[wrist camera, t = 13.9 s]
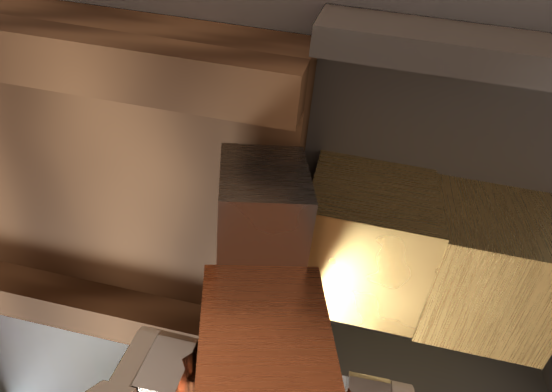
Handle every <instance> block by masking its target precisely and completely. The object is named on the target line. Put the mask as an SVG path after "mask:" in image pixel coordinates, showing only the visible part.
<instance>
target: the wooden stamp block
mask: <svg viewBox="0 0 552 392" xmlns="http://www.w3.org/2000/svg"><path fill="white" fill-rule="evenodd" d="M317 209H318V202H317V198H316V195H315V191H314V187H313V183H312V179H311V175H310V171H309V167H308V163H307V159H306V155H305V151H304V147H300V146H279V145H259V144H239V143H221V160H220V178H219V195H218V224H217V260H216V265H205V267H204V279H203V291H202V303H201V315H200V327H199V339H198V351H197V363H196V375H195V387H194V392H345V388H344V383H343V378H342V374H341V369H340V364H339V360H338V355H337V350H336V346H335V341H334V336H333V332H332V327H331V322H330V318H329V313H328V308H327V304H326V299H325V294H324V290H323V285H322V280H321V276H320V271H319V267H307V266H308V261H309V255H310V249H311V243H312V238H313V232H314V226H315V220H316V214H317Z"/></svg>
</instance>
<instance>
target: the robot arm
mask: <svg viewBox="0 0 552 392" xmlns="http://www.w3.org/2000/svg"><path fill="white" fill-rule="evenodd" d="M197 351H198V338H193V337H189V336H185V335H181V334H177V333H173V332H168V331H164V330H161V329H156V328H152V327H147V326H142V327H141V328H140V329H139V330H138V331H137V333H136V334H135V336H134V338H133V340H132V341H131V343H130V345H129V347H128V348H127V350H126V352H125V353H124V355H123V357H122V359H121V360H120V362H119V364H118V366H117V367H116V369H115V371H114V373H113V374H112V376H111V378H110V379H109V381H105V380H102V381H101V382H99V383H97V384H96V385H94V386H93V387H91V388H90V389H88V390H87V391H85V392H194V387H195V375H196V363H197ZM345 392H415V390H414V387H413V385H411V384H407V383H402V382H397V381H392V380H390V379H386V378H381V377H376V376H371V375H366V374H361V373H356V372H352V371H349V372H348V374H347V377H346V382H345Z"/></svg>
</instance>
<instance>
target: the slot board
mask: <svg viewBox="0 0 552 392" xmlns="http://www.w3.org/2000/svg"><path fill="white" fill-rule="evenodd" d="M310 42H311V35H305V34H298V33H291V32H283V31H276V30H269V29H262V28H255V27H248V26H241V25H233V24H226V23H219V22H212V21H205V20H198V19H190V18H183V17H176V16H169V15H162V14H155V13H148V12H140V11H133V10H126V9H119V8H112V7H105V6H98V5H90V4H83V3H76V2H69V1H62V0H0V315H4V316H8V317H13V318H17V319H21V320H25V321H30V322H34V323H38V324H43V325H47V326H51V327H55V328H60V329H64V330H68V331H72V332H77V333H81V334H85V335H90V336H94V337H98V338H102V339H107V340H111V341H115V342H119V343H124V344H128V345H130V343H131V341H132V340H133V338H134V336H135V334H136V333H137V331H138V330H139V329H140V328H141V327H142V326H147V327H152V328H156V329H161V330H164V331H168V332H173V333H177V334H181V335H185V336H189V337H193V338H198V339H199V327H200V315H201V303H202V291H203V279H204V267H205V265H216V260H217V224H218V195H219V178H220V160H221V143H239V144H259V145H279V146H300V147H304V151H305V147H306V139H307V132H308V124H309V117H310V109H311V102H312V94H313V87H314V80H315V72H316V65H317V58H313V57H309V50H310Z"/></svg>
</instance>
